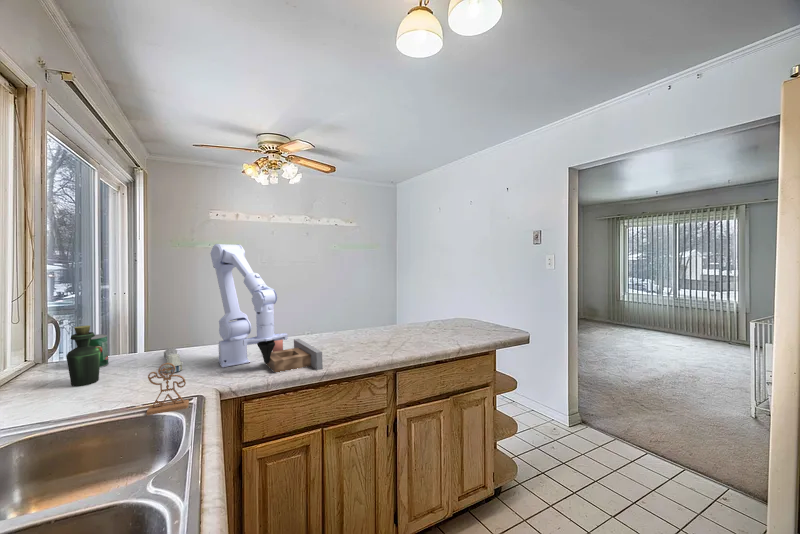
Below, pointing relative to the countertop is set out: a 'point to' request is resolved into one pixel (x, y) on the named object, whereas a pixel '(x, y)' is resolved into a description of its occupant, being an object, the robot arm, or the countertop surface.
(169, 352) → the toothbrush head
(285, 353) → the block
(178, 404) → the gingerbread man figurine
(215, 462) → the countertop surface
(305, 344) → the wall
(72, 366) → the potion bottle
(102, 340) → the canned tomato
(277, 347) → the dowel
